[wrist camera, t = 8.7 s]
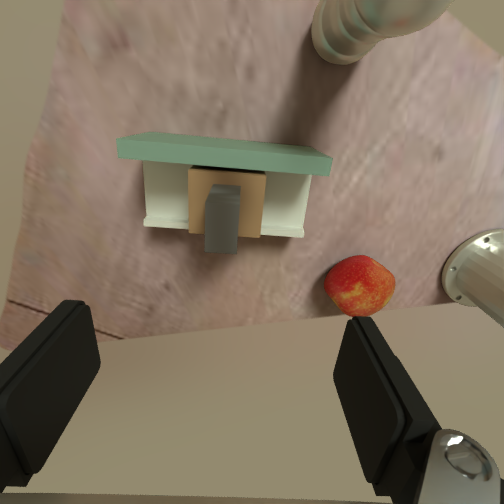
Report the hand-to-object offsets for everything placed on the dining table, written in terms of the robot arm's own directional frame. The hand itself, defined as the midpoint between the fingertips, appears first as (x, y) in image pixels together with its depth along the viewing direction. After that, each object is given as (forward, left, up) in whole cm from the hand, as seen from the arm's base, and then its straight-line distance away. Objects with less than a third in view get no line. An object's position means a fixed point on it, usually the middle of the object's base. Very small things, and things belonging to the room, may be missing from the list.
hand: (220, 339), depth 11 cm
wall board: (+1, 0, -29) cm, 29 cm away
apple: (-18, +12, -29) cm, 36 cm away
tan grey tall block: (+1, 0, -25) cm, 25 cm away
